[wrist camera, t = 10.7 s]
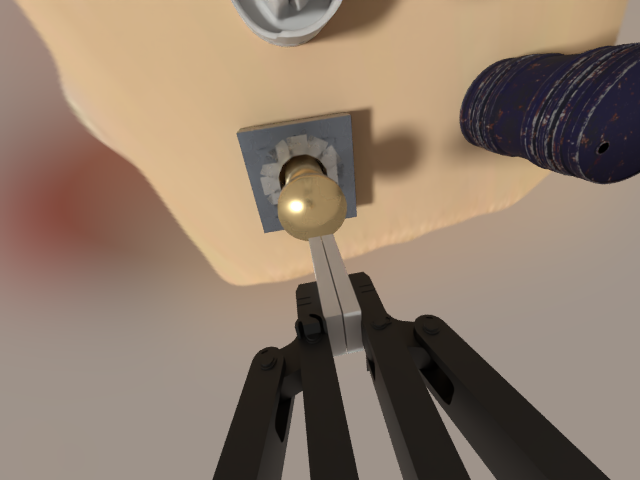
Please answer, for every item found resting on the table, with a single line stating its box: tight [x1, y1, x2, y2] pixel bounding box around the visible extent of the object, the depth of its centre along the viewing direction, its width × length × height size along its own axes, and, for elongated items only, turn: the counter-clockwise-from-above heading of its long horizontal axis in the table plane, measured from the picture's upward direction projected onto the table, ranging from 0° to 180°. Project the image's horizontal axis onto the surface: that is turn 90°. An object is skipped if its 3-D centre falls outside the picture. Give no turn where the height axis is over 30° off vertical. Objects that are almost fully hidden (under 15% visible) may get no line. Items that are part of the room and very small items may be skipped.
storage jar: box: [460, 43, 640, 184], centre depth 25 cm, size 10×10×15 cm
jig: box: [237, 112, 357, 233], centre depth 31 cm, size 12×12×3 cm
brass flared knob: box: [278, 154, 347, 241], centre depth 27 cm, size 6×6×12 cm
